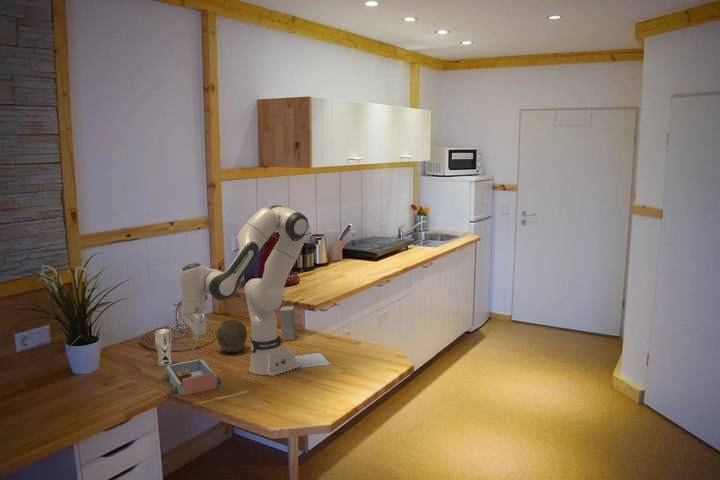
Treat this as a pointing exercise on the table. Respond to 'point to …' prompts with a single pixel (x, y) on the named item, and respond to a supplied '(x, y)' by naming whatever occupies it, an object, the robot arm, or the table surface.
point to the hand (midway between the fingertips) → (195, 339)
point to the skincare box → (288, 323)
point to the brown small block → (183, 375)
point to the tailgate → (198, 384)
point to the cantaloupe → (232, 335)
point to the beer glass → (163, 346)
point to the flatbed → (194, 367)
